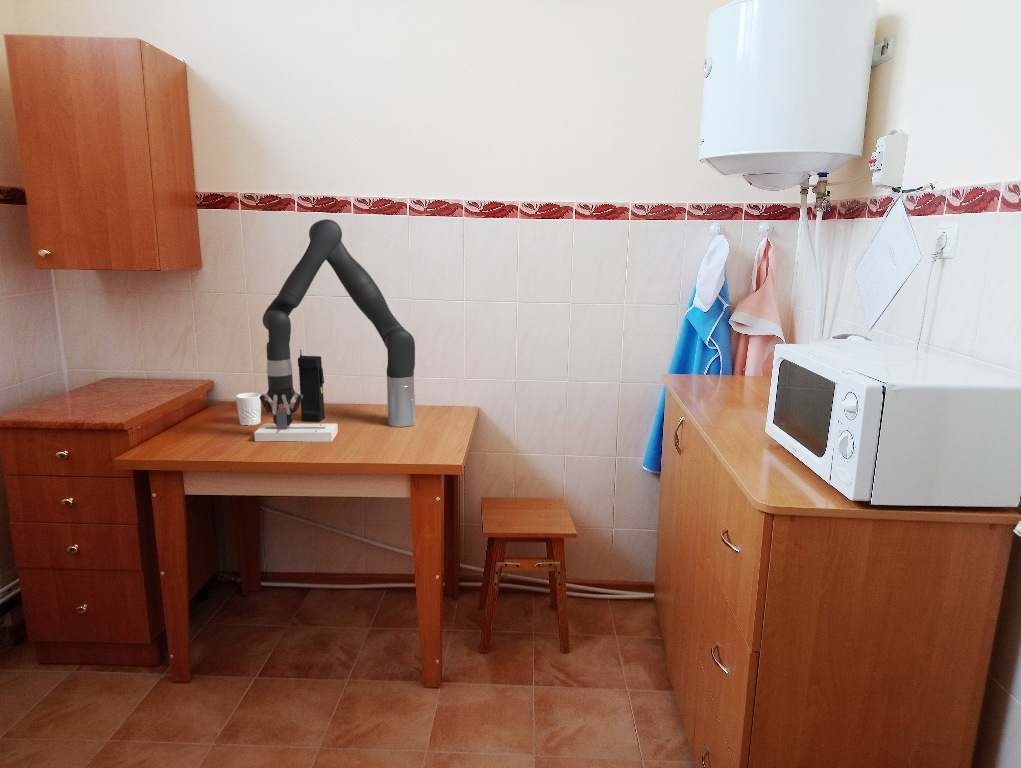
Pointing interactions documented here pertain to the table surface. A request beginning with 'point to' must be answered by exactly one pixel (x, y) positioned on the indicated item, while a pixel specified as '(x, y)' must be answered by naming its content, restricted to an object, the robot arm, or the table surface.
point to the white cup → (249, 408)
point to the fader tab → (281, 418)
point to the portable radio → (311, 388)
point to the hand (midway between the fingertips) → (283, 424)
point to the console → (297, 433)
